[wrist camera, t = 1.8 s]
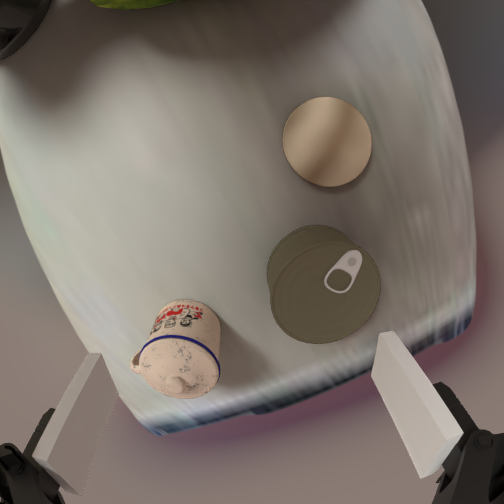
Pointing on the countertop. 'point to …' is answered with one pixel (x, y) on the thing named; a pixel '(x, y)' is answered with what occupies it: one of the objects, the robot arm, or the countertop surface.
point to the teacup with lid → (181, 351)
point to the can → (321, 285)
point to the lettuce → (130, 3)
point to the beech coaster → (327, 141)
